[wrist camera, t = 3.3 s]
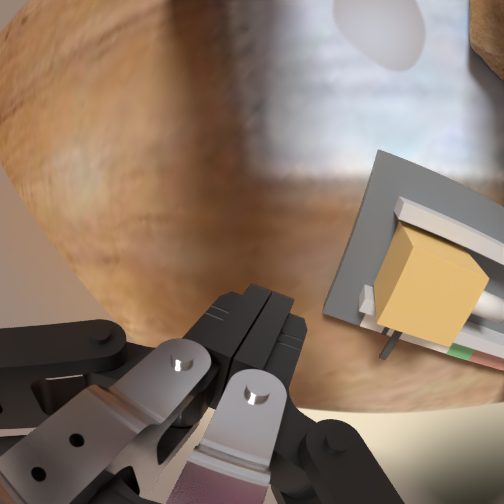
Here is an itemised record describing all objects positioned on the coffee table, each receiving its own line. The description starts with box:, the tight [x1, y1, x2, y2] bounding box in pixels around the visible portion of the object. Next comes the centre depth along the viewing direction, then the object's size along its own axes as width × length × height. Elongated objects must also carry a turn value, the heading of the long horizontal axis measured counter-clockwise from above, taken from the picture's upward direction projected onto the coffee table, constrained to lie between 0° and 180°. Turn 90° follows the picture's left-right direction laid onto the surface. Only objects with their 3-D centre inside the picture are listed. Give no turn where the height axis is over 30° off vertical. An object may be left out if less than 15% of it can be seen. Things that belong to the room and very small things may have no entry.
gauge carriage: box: [374, 221, 504, 360], centre depth 16 cm, size 9×9×5 cm
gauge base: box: [322, 150, 504, 371], centre depth 16 cm, size 24×12×4 cm, turn 76°
